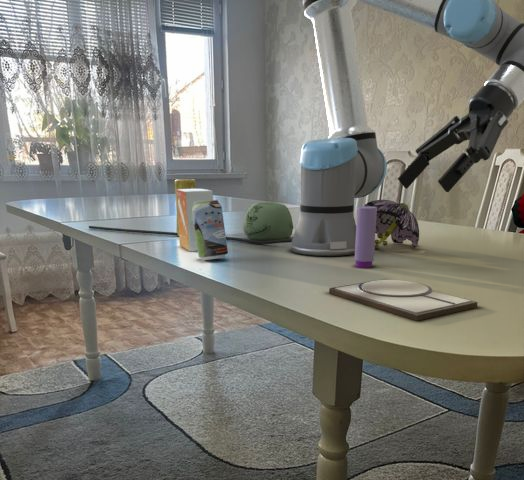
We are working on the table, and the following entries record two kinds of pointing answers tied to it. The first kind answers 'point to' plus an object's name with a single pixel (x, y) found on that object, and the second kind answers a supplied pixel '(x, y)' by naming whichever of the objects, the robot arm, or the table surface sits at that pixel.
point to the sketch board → (404, 298)
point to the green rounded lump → (268, 222)
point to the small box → (189, 215)
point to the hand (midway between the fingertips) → (421, 185)
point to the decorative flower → (394, 222)
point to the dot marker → (365, 236)
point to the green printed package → (209, 229)
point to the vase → (183, 185)
